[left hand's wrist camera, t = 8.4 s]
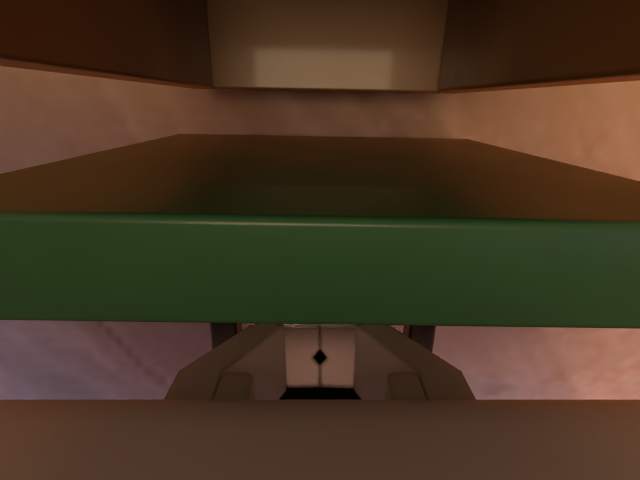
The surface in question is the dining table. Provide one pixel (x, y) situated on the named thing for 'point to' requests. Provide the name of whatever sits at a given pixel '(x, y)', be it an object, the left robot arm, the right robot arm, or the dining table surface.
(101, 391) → the dining table surface
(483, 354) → the dining table surface
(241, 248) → the drawer
